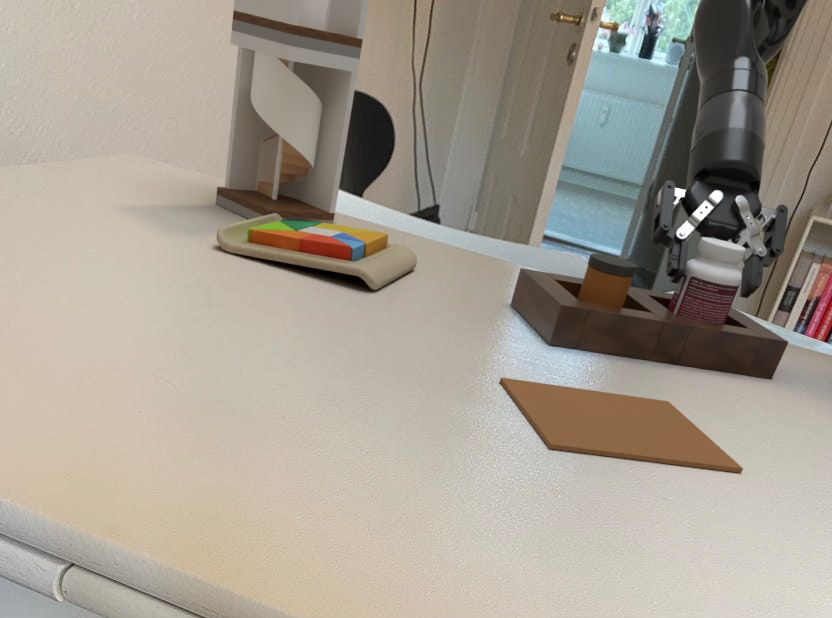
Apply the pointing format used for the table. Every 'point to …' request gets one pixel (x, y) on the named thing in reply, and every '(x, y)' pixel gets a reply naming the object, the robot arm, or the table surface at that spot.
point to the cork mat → (615, 426)
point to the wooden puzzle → (320, 247)
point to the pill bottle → (709, 282)
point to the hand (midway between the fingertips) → (712, 286)
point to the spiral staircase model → (291, 105)
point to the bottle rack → (644, 327)
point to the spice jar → (607, 280)
